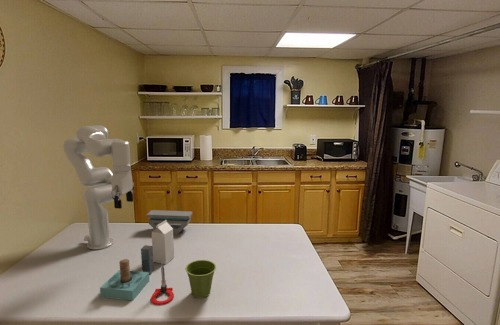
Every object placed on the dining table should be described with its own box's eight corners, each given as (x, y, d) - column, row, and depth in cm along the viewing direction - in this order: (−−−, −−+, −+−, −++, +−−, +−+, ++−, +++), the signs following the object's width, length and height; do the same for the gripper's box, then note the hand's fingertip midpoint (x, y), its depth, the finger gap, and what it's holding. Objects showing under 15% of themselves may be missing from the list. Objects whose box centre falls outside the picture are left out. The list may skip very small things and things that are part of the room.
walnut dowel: (119, 290, 125) (117, 263, 122) (124, 285, 128) (122, 258, 126) (128, 291, 124) (126, 263, 122) (132, 286, 128) (130, 259, 125)
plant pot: (190, 305, 116) (189, 278, 114) (183, 288, 126) (182, 263, 124) (220, 298, 120) (220, 271, 118) (211, 282, 131) (211, 257, 129)
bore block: (100, 296, 121) (99, 287, 120) (120, 278, 134) (119, 269, 133) (133, 300, 119) (132, 290, 118) (149, 281, 132) (148, 272, 131)
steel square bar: (142, 274, 137) (140, 248, 135) (146, 270, 140) (144, 245, 138) (150, 275, 136) (148, 249, 134) (153, 270, 140) (152, 245, 138)
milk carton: (174, 257, 152) (172, 220, 148) (165, 264, 145) (164, 226, 142) (161, 255, 154) (160, 218, 151) (152, 262, 147) (150, 224, 144)
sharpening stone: (147, 232, 181) (146, 214, 179) (152, 227, 189) (151, 210, 187) (189, 234, 179) (188, 216, 177) (192, 228, 187) (192, 211, 185)
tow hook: (172, 305, 117) (175, 289, 126) (170, 274, 114) (173, 261, 123) (149, 307, 116) (153, 291, 125) (147, 276, 113) (151, 262, 122)
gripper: (124, 164, 148) (126, 198, 152) (102, 172, 132) (105, 210, 135) (139, 164, 147) (141, 199, 151) (118, 172, 131) (121, 211, 134)
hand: (124, 204), depth 143 cm, fingers open, 9 cm apart
